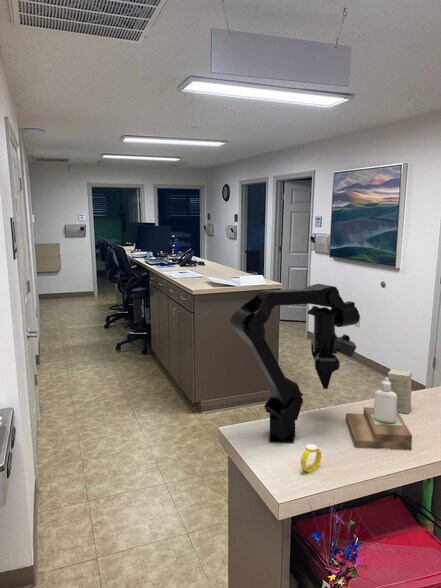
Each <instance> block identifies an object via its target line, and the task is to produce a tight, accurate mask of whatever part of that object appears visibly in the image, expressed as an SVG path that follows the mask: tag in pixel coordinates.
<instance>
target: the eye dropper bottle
mask: <svg viewBox="0 0 441 588" xmlns="http://www.w3.org/2000/svg"><path fill="white" fill-rule="evenodd" d="M373 402H374V404H373V408H374V419H375V420H378V421H381V422H386V423H394V422H395V421H396V411H397V395H396V393H394V392H392V391H391V382H389V380H388V376H386V377H385V376H384V381H381V388H380V389H378V390H376V391H375V393H374V401H373Z"/></svg>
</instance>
